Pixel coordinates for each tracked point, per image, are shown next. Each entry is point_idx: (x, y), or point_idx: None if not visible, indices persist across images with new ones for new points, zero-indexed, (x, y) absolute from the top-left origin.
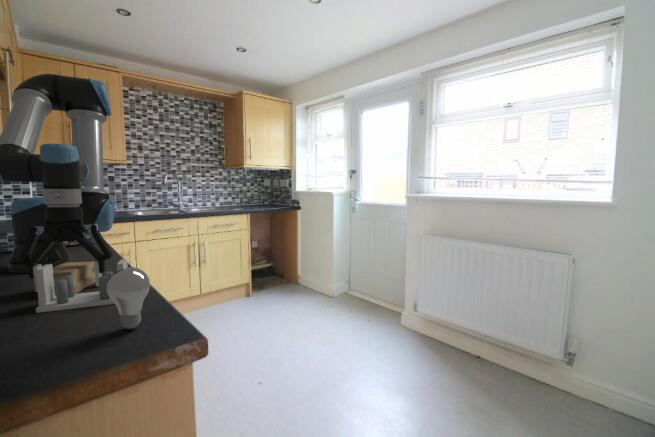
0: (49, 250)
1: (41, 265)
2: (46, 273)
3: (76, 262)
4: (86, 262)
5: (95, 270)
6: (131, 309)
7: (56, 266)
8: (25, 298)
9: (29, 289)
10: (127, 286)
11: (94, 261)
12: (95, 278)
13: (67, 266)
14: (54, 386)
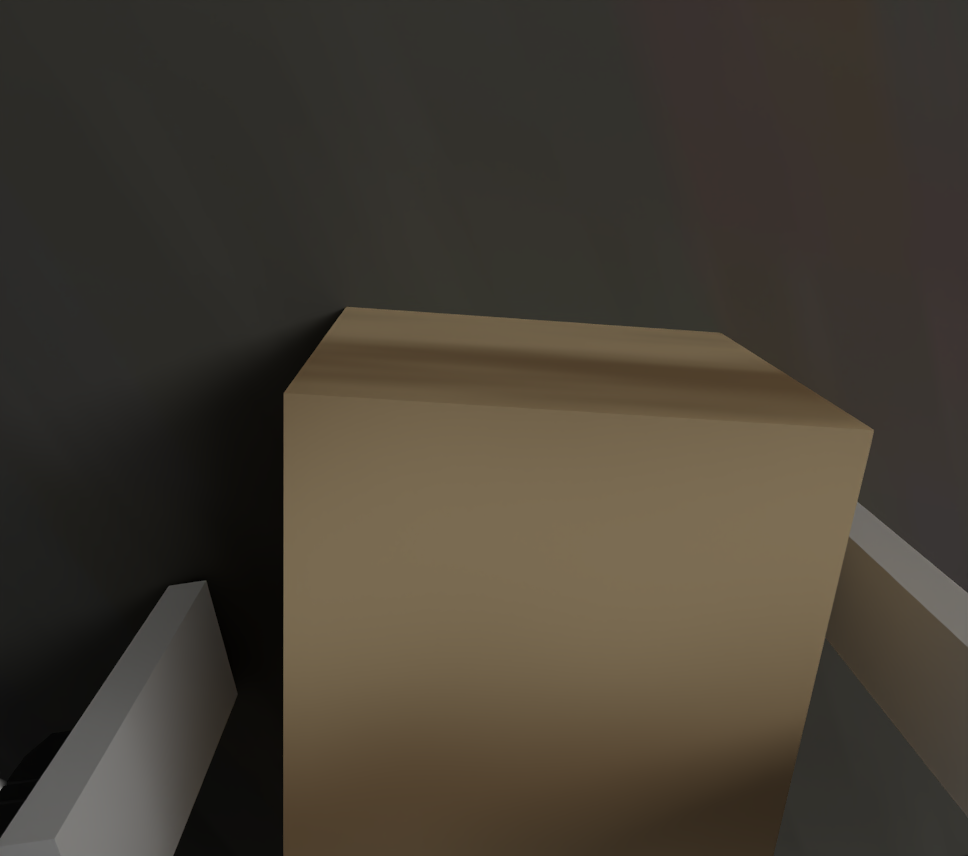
0: None
1: (65, 816)
2: None
3: (518, 456)
4: (732, 499)
5: (929, 756)
6: None
7: (295, 722)
8: (223, 829)
9: (18, 528)
10: None
11: (870, 433)
12: (855, 673)
13: (502, 755)
14: None
